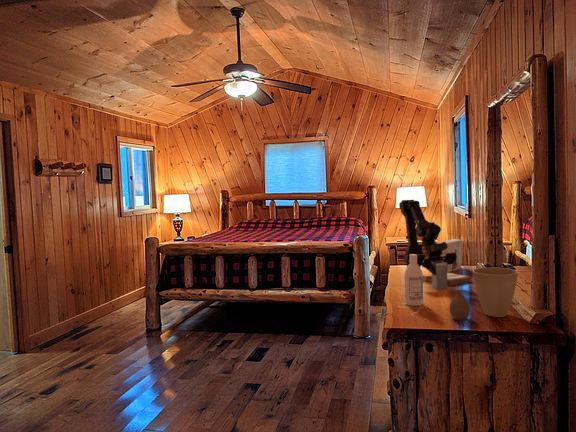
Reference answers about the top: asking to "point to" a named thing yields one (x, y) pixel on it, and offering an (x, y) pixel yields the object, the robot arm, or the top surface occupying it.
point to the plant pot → (495, 289)
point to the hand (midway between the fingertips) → (440, 274)
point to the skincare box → (453, 247)
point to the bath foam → (413, 283)
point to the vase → (459, 307)
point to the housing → (439, 275)
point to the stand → (454, 279)
